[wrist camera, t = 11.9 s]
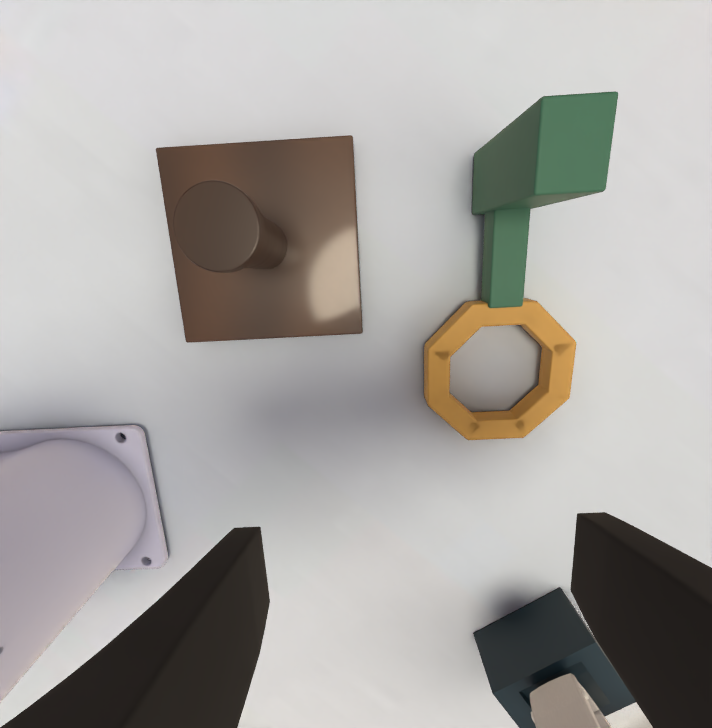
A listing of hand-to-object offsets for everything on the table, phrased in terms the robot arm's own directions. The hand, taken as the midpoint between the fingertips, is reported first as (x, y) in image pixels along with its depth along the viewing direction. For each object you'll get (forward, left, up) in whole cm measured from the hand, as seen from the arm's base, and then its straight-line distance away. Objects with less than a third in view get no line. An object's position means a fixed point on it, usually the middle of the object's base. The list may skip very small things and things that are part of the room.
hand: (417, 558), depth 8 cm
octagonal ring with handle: (+5, +5, -10) cm, 12 cm away
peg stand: (-5, +8, -10) cm, 14 cm away
